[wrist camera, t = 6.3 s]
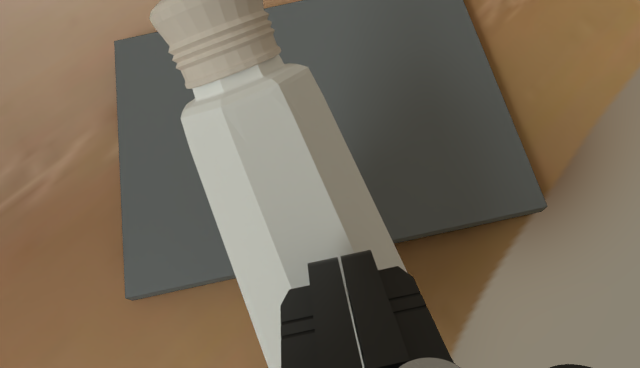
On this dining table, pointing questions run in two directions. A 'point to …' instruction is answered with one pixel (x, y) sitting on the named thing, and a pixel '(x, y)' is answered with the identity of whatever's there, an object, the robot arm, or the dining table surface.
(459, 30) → the mat
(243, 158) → the pepper shaker
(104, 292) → the dining table surface
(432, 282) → the dining table surface
